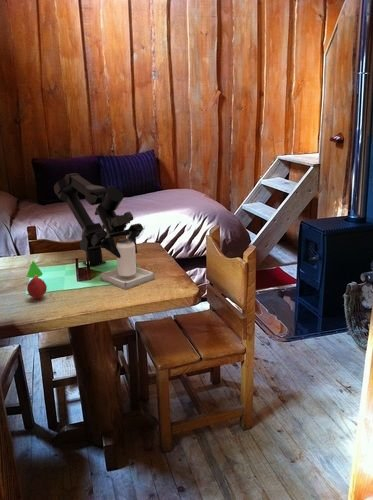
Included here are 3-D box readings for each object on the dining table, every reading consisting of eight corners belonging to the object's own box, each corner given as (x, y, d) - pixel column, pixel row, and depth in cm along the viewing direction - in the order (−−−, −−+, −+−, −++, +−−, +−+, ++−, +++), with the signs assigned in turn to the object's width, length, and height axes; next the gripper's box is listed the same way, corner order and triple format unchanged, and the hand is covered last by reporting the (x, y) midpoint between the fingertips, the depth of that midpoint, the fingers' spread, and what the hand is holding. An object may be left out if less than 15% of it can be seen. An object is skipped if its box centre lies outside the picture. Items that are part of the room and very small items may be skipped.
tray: (100, 279, 162) (100, 273, 161) (129, 269, 171) (129, 264, 170) (125, 289, 153) (125, 283, 152) (154, 279, 161) (154, 273, 161)
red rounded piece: (37, 304, 143) (34, 280, 141) (24, 300, 146) (21, 276, 143) (51, 297, 148) (48, 274, 145) (39, 294, 151) (36, 271, 148)
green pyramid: (45, 276, 167) (43, 260, 165) (28, 279, 164) (26, 263, 162) (41, 271, 172) (39, 256, 170) (24, 274, 169) (22, 259, 167)
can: (137, 275, 159) (136, 242, 155) (119, 277, 157) (117, 244, 154) (134, 269, 165) (133, 237, 161) (116, 271, 163) (114, 239, 160)
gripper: (92, 209, 151) (112, 249, 146) (139, 201, 162) (159, 237, 158) (82, 227, 159) (101, 265, 155) (128, 218, 171) (146, 253, 166)
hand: (128, 255), depth 158 cm, fingers closed on can, 6 cm apart
